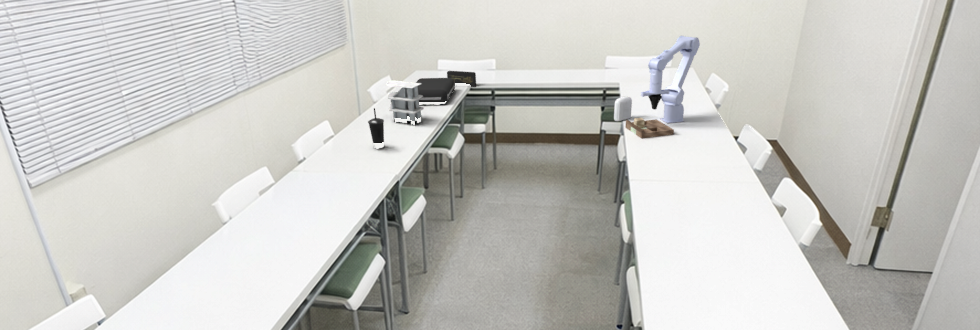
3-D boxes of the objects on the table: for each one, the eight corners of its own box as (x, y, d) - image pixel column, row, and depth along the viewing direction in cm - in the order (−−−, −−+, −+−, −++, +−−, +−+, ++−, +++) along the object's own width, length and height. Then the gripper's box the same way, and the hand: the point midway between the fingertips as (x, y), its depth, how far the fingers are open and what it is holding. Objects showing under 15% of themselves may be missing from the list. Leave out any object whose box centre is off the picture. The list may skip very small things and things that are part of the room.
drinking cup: (389, 145, 284) (385, 106, 276) (382, 150, 277) (377, 110, 270) (376, 144, 286) (371, 105, 279) (368, 149, 280) (363, 110, 272)
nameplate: (447, 85, 395) (446, 71, 391) (449, 84, 396) (448, 70, 392) (475, 87, 386) (474, 72, 382) (476, 86, 388) (475, 72, 384)
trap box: (656, 123, 296) (656, 116, 295) (673, 134, 280) (674, 126, 278) (625, 127, 293) (625, 120, 292) (641, 138, 277) (641, 130, 275)
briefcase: (409, 92, 383) (408, 77, 379) (456, 91, 379) (455, 76, 376) (396, 107, 349) (394, 91, 346) (447, 106, 346) (446, 90, 342)
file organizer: (419, 132, 302) (416, 91, 294) (365, 126, 316) (360, 87, 308) (443, 118, 324) (440, 80, 316) (391, 113, 338) (387, 76, 330)
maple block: (641, 125, 287) (641, 117, 286) (644, 127, 284) (644, 120, 282) (633, 125, 287) (634, 118, 286) (636, 128, 283) (636, 120, 282)
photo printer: (626, 116, 310) (627, 94, 306) (632, 118, 307) (633, 95, 303) (612, 120, 305) (613, 97, 301) (618, 122, 302) (619, 99, 297)
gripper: (665, 79, 289) (663, 105, 294) (638, 82, 286) (637, 108, 291) (672, 82, 282) (670, 109, 287) (645, 85, 280) (643, 112, 285)
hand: (654, 108), depth 289 cm, fingers closed
